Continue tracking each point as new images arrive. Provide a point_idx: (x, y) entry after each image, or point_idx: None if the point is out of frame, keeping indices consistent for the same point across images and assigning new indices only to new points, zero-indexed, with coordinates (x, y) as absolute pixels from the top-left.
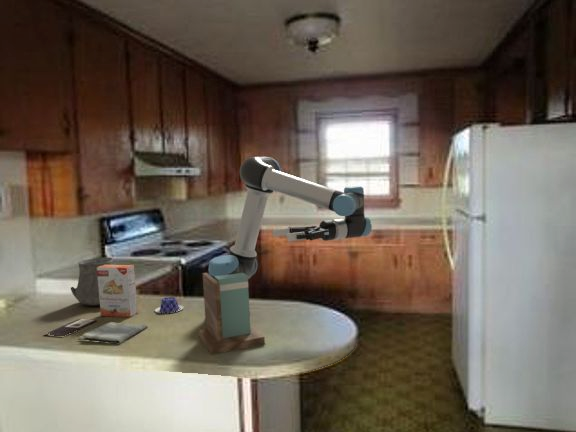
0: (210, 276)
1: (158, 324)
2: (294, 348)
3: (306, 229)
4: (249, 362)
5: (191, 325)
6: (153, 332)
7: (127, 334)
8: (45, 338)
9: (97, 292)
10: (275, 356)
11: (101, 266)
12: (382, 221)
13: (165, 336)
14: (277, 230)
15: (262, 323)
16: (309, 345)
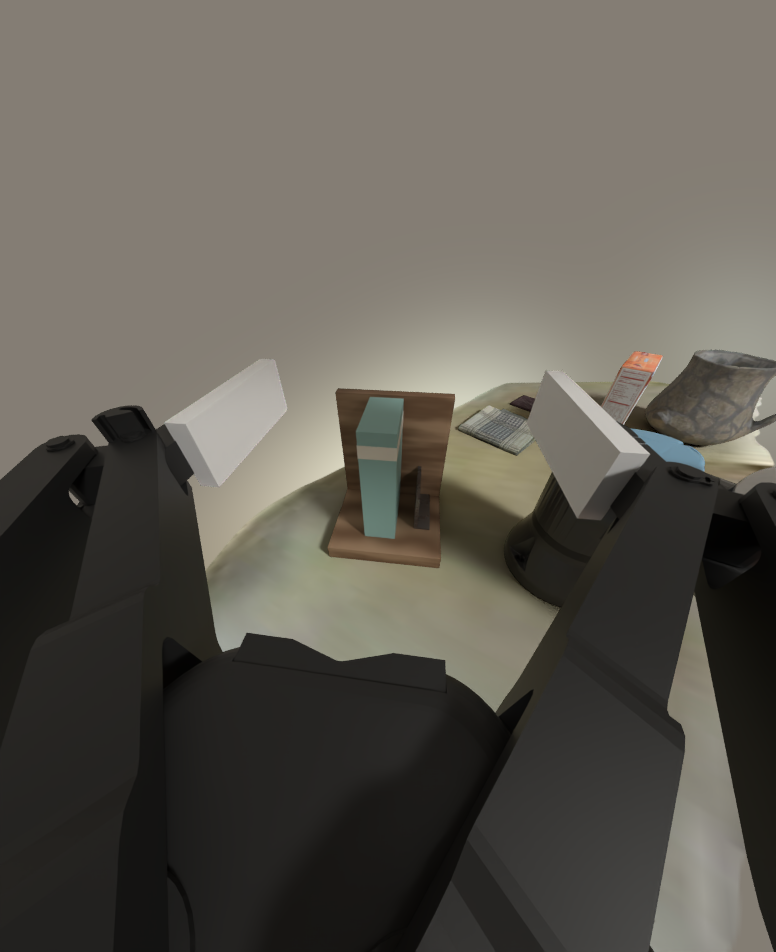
0: (409, 395)
1: (528, 466)
2: (263, 592)
3: (536, 677)
4: (285, 510)
5: (503, 496)
6: (489, 456)
7: (476, 431)
8: (513, 397)
9: (659, 406)
10: (267, 547)
11: (640, 352)
12: None
13: (463, 463)
14: (553, 395)
15: (455, 609)
16: (244, 630)
